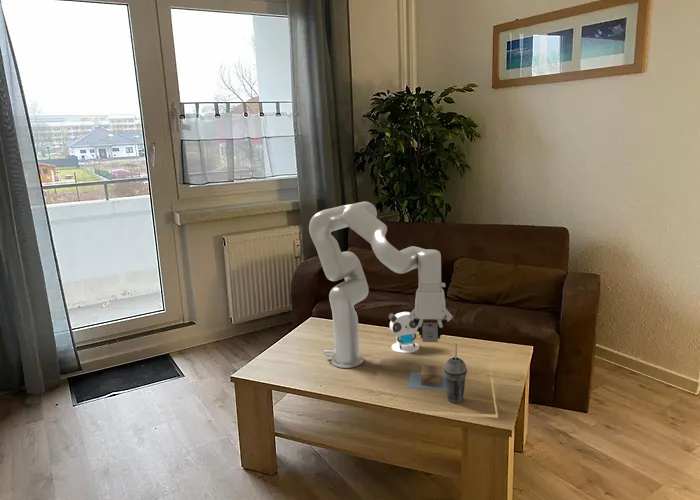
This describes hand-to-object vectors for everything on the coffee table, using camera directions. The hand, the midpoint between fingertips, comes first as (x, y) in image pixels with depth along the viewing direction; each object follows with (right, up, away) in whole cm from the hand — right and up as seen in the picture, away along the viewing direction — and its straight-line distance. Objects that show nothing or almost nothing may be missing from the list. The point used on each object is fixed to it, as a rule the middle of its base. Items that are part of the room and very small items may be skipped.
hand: (430, 336), depth 182 cm
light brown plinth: (+1, -16, +4) cm, 17 cm away
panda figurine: (-5, -10, +35) cm, 37 cm away
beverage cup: (+7, -20, -10) cm, 23 cm away
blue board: (+1, -17, +4) cm, 18 cm away
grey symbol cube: (0, -1, -1) cm, 1 cm away
